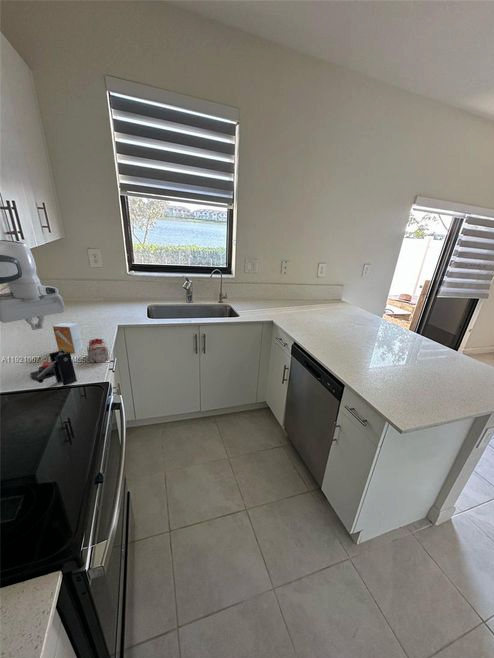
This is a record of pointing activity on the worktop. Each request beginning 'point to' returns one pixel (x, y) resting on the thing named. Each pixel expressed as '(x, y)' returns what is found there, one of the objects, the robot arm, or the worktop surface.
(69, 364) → the bracket
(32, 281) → the robot arm
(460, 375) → the worktop surface
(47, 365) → the button
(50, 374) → the control block
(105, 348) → the food item
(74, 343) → the small box
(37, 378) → the lever
